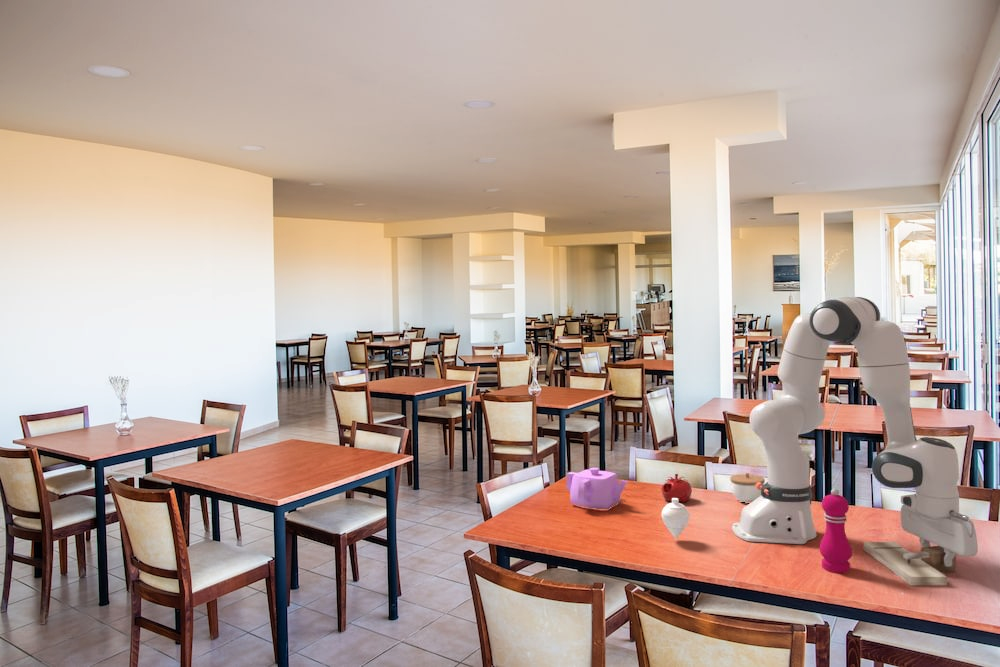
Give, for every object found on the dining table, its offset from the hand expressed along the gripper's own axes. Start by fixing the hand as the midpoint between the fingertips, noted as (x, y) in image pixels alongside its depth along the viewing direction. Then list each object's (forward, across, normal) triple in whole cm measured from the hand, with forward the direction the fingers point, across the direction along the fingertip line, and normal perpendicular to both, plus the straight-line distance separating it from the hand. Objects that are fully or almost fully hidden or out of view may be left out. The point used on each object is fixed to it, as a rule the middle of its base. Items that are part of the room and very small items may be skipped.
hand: (937, 561), depth 165 cm
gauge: (+2, 0, +3) cm, 3 cm away
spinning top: (+2, +34, +53) cm, 63 cm away
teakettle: (+2, +73, +64) cm, 97 cm away
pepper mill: (+2, +6, +23) cm, 24 cm away
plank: (+2, +4, +6) cm, 8 cm away
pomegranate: (+2, +70, +37) cm, 80 cm away
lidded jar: (+2, +64, +15) cm, 65 cm away
